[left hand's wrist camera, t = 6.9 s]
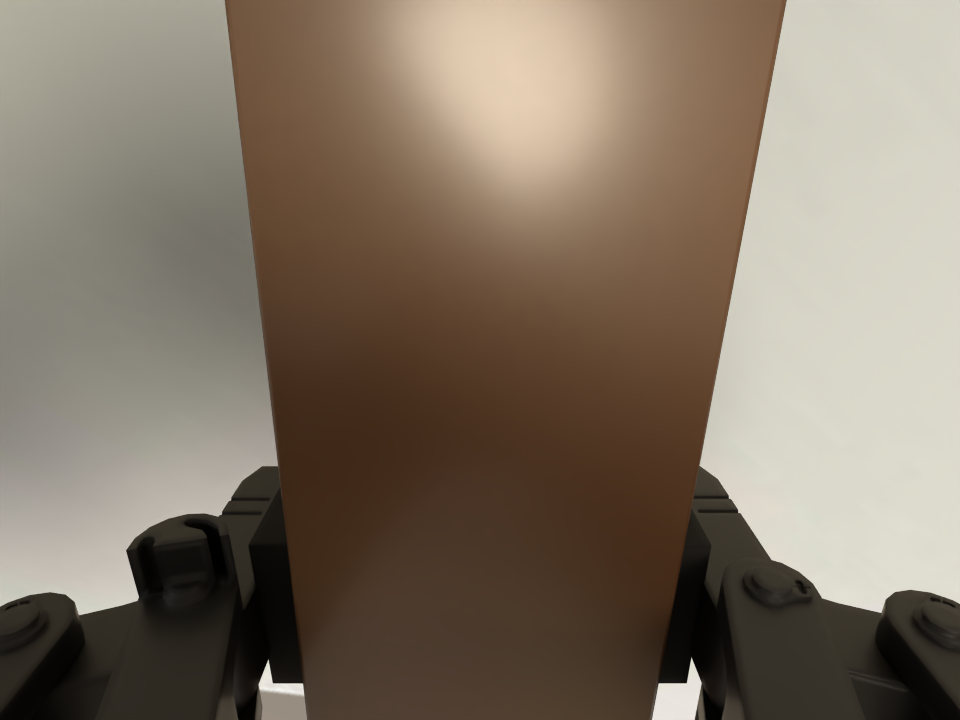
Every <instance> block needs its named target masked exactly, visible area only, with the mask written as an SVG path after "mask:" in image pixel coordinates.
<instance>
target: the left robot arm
mask: <svg viewBox="0 0 960 720" xmlns="http://www.w3.org/2000/svg"><path fill="white" fill-rule="evenodd" d="M126 552H127V555H128V559H129V562H130V566H131V570H132V573H133V577H134V581H135V584H136V588H137V591H138V595H139V599H138V601H136V602H132V603H129V604H126V605H123V606H118V607H114V608H110V609H105V610H101V611H97V612H92V613H88V614H83V615H79V614H78V611H77V608H76V605H75V602H74V601H73V600H71V599H70V598H69V597H68V596H66V595H64V594H57V593H51V592H49V593H42V594H35V595H29V596H26V597H23V598H20V599H17V600H15V601H12V602H9V603H6V604H5V605H3V606H1V607H0V720H261V717H262V702H261V695H260V690H259V685H258V684H259V682H260V679H261V677H262V674H263V672H264V669H265V666H266V664H267V661H268V659H269V664H270V669H271V675H272V680H273V683H303V678H302V669H301V660H300V652H299V643H298V634H297V625H296V617H295V608H294V599H293V590H292V582H291V573H290V564H289V556H288V547H287V538H286V529H285V521H284V512H283V503H282V495H281V486H280V477H279V468H278V466H262V467H261V468H259V469H258V470H257V471H255V472H254V473H253V474H251V475H250V476H249V477H247V478H246V479H244V480H243V481H242V482H241V484H240V485H239V487H238V488H237V490H236V491H235V493H234V494H233V496H232V497H231V501H229V502H228V504H227V505H226V507H225V508H224V510H223V511H222V515H220V516H219V517H217V516H213V515H209V514H186V515H182V516H178V517H174V518H170V519H167V520H165V521H163V522H160V523H158V524H156V525H154V526H152V527H150V528H148V529H147V530H146V531H144V532H143V533H142V534H140V535H139V536H137V537H136V538H135V539H134V540H133V542H132V543H131V545H130V546H129V547H128V549H127V550H126ZM691 657H692V659H693V662H694V664H695V667H696V669H697V672H698V674H699V677H700V680H701V682H702V685H701V690H700V695H699V700H698V706H697V711H696V716H695V720H960V604H959V603H957V602H955V601H953V600H950V599H947V598H945V597H941V596H939V595H936V594H933V593H929V592H922V591H914V590H907V591H900V592H895V593H893V594H892V595H891V596H890V597H888V598H887V599H886V601H885V604H884V607H883V610H882V613H878V612H874V611H870V610H865V609H861V608H856V607H852V606H848V605H843V604H839V603H835V602H832V601H829V600H825V599H822V598H821V596H820V594H819V593H818V591H817V589H816V588H815V586H814V585H813V583H811V582H810V581H809V580H808V579H807V578H805V577H804V576H803V575H802V574H801V573H800V572H798V571H796V570H794V569H792V568H790V567H788V566H786V565H784V564H782V563H780V562H776V561H772V560H771V559H770V557H769V556H768V554H767V553H766V551H765V550H764V548H763V547H762V545H761V544H760V542H759V541H758V539H757V538H756V536H755V535H754V533H753V532H752V530H751V529H750V527H749V526H748V524H747V523H746V521H745V520H744V518H743V517H742V515H741V514H740V513H738V509H737V508H736V506H735V504H734V503H733V501H732V500H731V499H729V495H728V494H727V492H726V491H725V489H724V488H723V486H722V485H721V483H720V482H719V480H718V479H717V478H715V477H714V476H713V475H711V474H710V473H709V472H707V471H706V470H704V469H703V468H702V467H700V466H699V470H698V475H697V481H696V486H695V492H694V497H693V502H692V508H691V513H690V518H689V524H688V529H687V534H686V540H685V545H684V550H683V556H682V561H681V566H680V572H679V577H678V582H677V588H676V593H675V598H674V604H673V609H672V614H671V620H670V625H669V630H668V636H667V641H666V646H665V652H664V657H663V662H662V668H661V673H660V678H659V683H687V679H688V673H689V667H690V662H691Z"/></svg>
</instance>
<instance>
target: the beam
mask: <svg viewBox="0 0 960 720" xmlns="http://www.w3.org/2000/svg"><path fill="white" fill-rule="evenodd" d="M786 1H787V0H225V6H226V15H227V24H228V32H229V41H230V50H231V59H232V67H233V76H234V85H235V93H236V102H237V111H238V120H239V128H240V137H241V146H242V155H243V163H244V172H245V181H246V189H247V198H248V207H249V216H250V224H251V233H252V242H253V250H254V259H255V268H256V277H257V285H258V294H259V303H260V311H261V320H262V329H263V338H264V346H265V355H266V364H267V373H268V381H269V390H270V399H271V407H272V416H273V425H274V434H275V442H276V451H277V460H278V468H279V477H280V486H281V495H282V503H283V512H284V521H285V529H286V538H287V547H288V556H289V564H290V573H291V582H292V590H293V599H294V608H295V617H296V625H297V634H298V643H299V652H300V660H301V669H302V678H303V686H304V695H305V704H306V713H307V720H652V716H653V710H654V705H655V700H656V694H657V689H658V684H659V678H660V673H661V668H662V662H663V657H664V652H665V646H666V641H667V636H668V630H669V625H670V620H671V614H672V609H673V604H674V598H675V593H676V588H677V582H678V577H679V572H680V566H681V561H682V556H683V550H684V545H685V540H686V534H687V529H688V524H689V518H690V513H691V508H692V502H693V497H694V492H695V486H696V481H697V475H698V470H699V465H700V459H701V454H702V449H703V443H704V438H705V433H706V427H707V422H708V417H709V411H710V406H711V401H712V395H713V390H714V385H715V379H716V374H717V369H718V363H719V358H720V353H721V347H722V342H723V337H724V331H725V326H726V321H727V315H728V310H729V305H730V299H731V294H732V289H733V283H734V278H735V273H736V267H737V262H738V257H739V251H740V246H741V241H742V235H743V230H744V225H745V219H746V214H747V209H748V203H749V198H750V193H751V187H752V182H753V177H754V171H755V166H756V161H757V155H758V150H759V145H760V139H761V134H762V129H763V123H764V118H765V113H766V107H767V102H768V97H769V91H770V86H771V81H772V75H773V70H774V65H775V59H776V54H777V49H778V43H779V38H780V33H781V27H782V22H783V17H784V11H785V6H786Z"/></svg>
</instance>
